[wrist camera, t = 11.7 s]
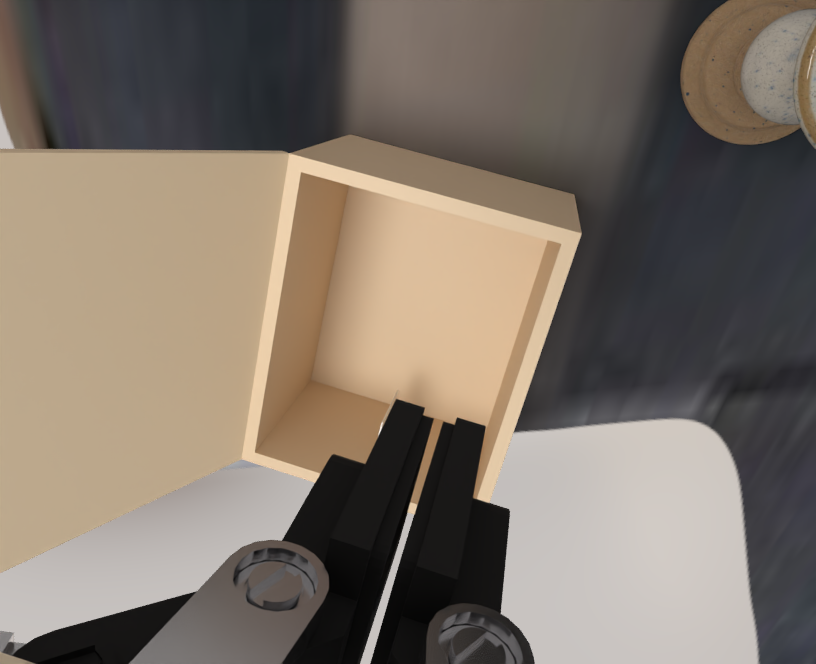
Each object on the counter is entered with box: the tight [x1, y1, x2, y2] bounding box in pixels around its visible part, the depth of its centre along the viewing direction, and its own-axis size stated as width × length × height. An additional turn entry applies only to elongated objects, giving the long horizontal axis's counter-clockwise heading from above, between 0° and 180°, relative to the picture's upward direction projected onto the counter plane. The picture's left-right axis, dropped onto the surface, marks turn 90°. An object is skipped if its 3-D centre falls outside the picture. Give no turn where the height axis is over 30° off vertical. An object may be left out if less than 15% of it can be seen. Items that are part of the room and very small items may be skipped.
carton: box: [242, 134, 582, 515], centre depth 46 cm, size 16×24×12 cm, turn 167°
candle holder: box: [680, 0, 816, 149], centre depth 32 cm, size 9×9×20 cm
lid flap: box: [0, 149, 289, 573], centre depth 34 cm, size 16×20×1 cm
